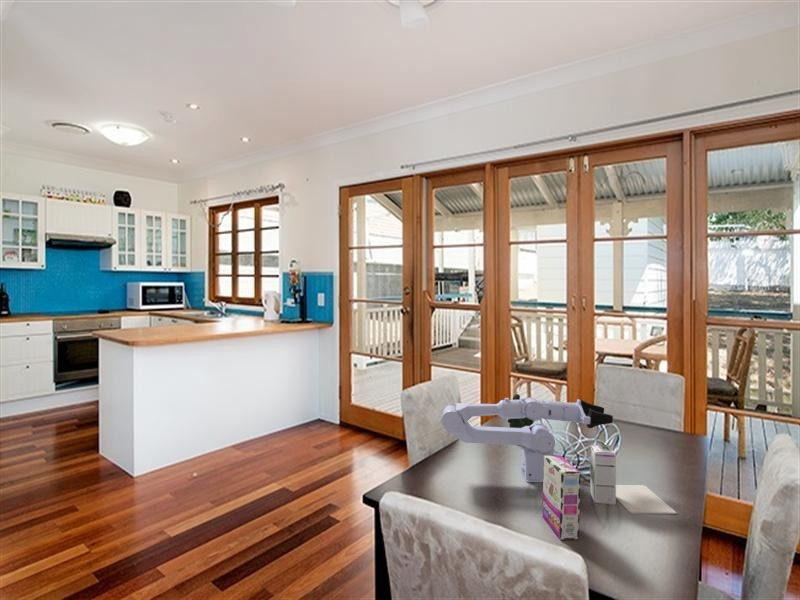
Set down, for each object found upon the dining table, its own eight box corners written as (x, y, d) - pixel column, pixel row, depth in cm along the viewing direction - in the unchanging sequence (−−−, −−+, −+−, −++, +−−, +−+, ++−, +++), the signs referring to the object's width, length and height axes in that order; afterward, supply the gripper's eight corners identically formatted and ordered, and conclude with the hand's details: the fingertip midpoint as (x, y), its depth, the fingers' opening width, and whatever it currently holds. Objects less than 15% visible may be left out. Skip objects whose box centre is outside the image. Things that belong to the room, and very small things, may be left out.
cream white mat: (630, 513, 119) (630, 512, 119) (604, 486, 135) (604, 484, 135) (676, 514, 119) (676, 512, 119) (644, 486, 135) (644, 485, 135)
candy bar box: (580, 540, 107) (582, 472, 106) (560, 541, 106) (561, 472, 106) (560, 515, 118) (561, 454, 117) (541, 516, 118) (542, 454, 117)
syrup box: (616, 505, 124) (617, 453, 123) (593, 502, 125) (594, 451, 124) (611, 495, 129) (612, 445, 129) (589, 493, 130) (590, 444, 130)
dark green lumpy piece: (526, 449, 169) (539, 424, 191) (525, 400, 167) (539, 381, 189) (501, 444, 174) (517, 421, 196) (500, 397, 172) (516, 379, 193)
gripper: (569, 405, 132) (617, 409, 131) (557, 392, 147) (601, 395, 145) (567, 429, 133) (615, 433, 131) (555, 413, 147) (599, 417, 146)
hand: (607, 415), depth 138 cm, fingers open, 7 cm apart
